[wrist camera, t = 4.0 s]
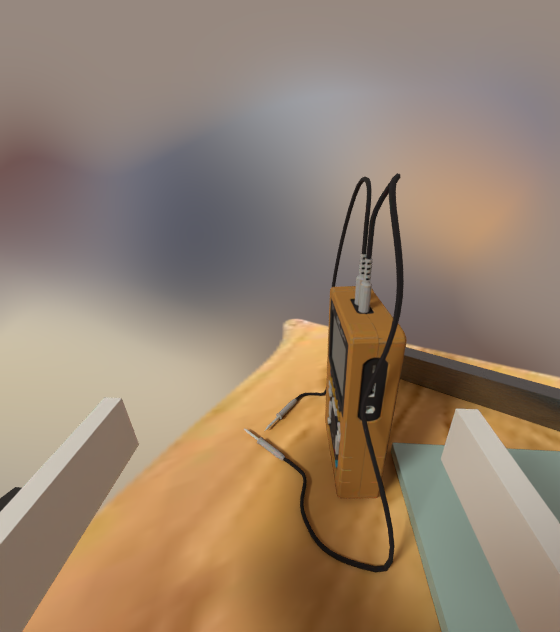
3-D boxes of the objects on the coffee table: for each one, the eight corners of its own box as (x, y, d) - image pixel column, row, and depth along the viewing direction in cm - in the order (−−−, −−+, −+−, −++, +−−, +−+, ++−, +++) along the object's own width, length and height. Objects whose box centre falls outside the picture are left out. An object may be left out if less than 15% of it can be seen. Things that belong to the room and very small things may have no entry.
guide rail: (644, 446, 22) (666, 417, 21) (652, 461, 21) (675, 432, 20) (367, 359, 34) (370, 337, 33) (362, 366, 33) (365, 343, 32)
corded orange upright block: (249, 394, 29) (225, 179, 21) (347, 392, 29) (365, 172, 20) (220, 573, 16) (117, 189, 7) (399, 573, 16) (514, 171, 7)
